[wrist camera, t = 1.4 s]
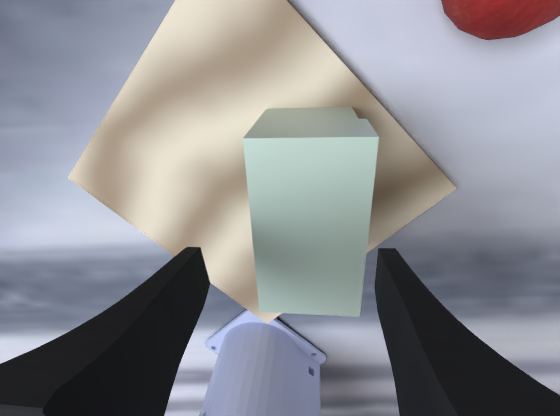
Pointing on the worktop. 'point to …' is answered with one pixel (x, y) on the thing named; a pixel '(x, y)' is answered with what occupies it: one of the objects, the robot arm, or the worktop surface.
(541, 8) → the red rounded piece
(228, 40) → the birch board
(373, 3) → the worktop surface
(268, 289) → the sage container
